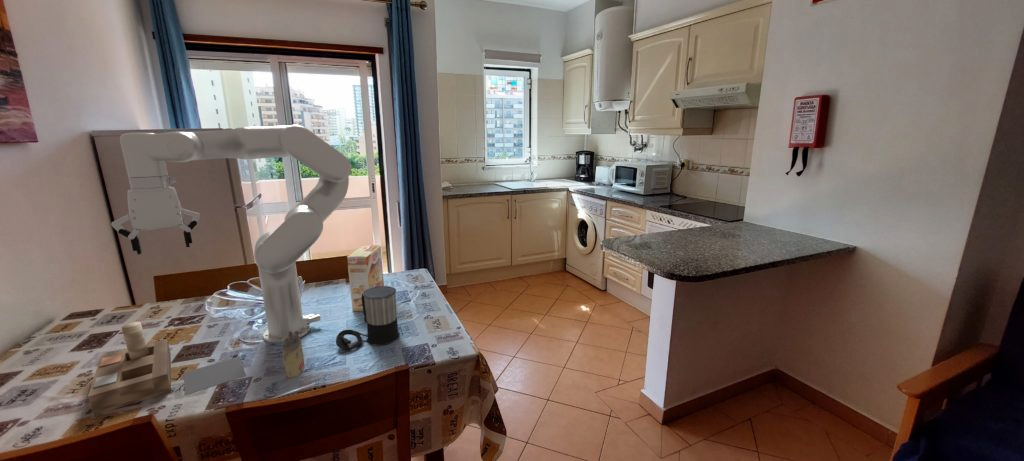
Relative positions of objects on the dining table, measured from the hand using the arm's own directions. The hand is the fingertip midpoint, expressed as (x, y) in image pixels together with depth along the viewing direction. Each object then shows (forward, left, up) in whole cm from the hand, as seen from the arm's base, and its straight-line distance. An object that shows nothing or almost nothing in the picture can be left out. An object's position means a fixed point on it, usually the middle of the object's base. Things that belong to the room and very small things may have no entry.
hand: (164, 249), depth 105 cm
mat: (-5, +17, -30) cm, 35 cm away
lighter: (-21, +28, -31) cm, 46 cm away
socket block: (+10, +8, -30) cm, 33 cm away
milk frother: (-41, +25, -31) cm, 57 cm away
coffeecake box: (-52, -3, -31) cm, 60 cm away
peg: (+9, +3, -29) cm, 31 cm away
